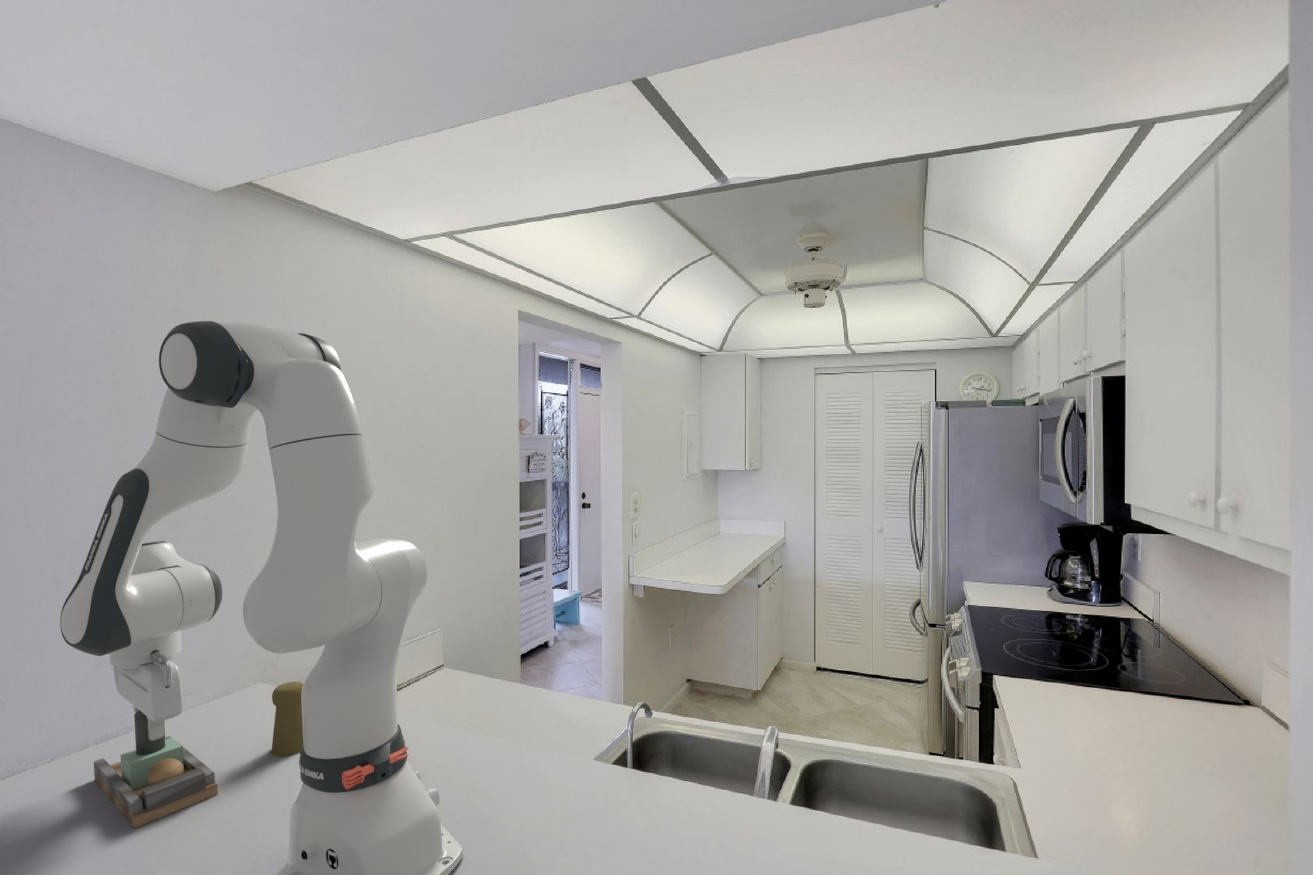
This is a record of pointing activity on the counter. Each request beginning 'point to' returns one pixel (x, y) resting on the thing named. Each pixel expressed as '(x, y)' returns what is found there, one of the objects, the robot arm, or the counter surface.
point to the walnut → (164, 771)
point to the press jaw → (146, 754)
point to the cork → (287, 719)
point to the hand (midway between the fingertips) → (150, 733)
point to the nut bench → (159, 811)
